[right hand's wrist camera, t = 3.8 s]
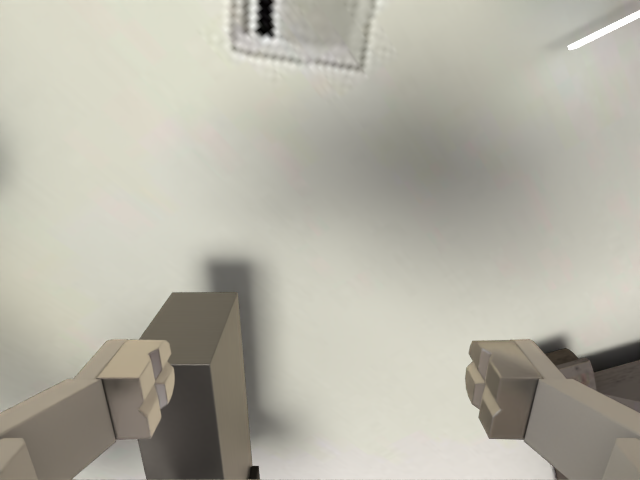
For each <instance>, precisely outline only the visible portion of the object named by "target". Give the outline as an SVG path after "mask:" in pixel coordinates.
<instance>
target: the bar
mask: <svg viewBox="0 0 640 480" xmlns="http://www.w3.org/2000/svg"><path fill="white" fill-rule="evenodd" d="M139 340H166V341H167V342H168V343H169V345H170V349H171V355H170V357H169V359H168V362H169V363H170V364H171V365H172V367H173V368H174V374H175V384H174V389H173V394H172V397H171V399H170V401H169V403H168V404H167V405H166V406H165V407H163V408H162V409H160V411H161V419H160V421H159V423H158V425H157V427H156V429H155V431H154V433H153V436H152V438H151V439H138V443H139V447H140V452H141V456H142V461H143V465H144V470H145V474H146V479H147V480H249V477H250V471H251V466H252V456H251V444H250V432H249V420H248V408H247V396H246V384H245V372H244V361H243V349H242V337H241V325H240V313H239V301H238V292H179V293H172V294H171V295H170V297H169V298H168V299H167V301H166V302H165V304H164V305H163V306H162V308H161V309H160V311H159V312H158V313H157V315H156V316H155V318H154V319H153V321H152V322H151V323H150V325H149V326H148V328H147V329H146V330H145V332H144V333H143V335H142V336H141V337H140V339H139Z"/></svg>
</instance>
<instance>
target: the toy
mask: <svg viewBox="0 0 640 480" xmlns="http://www.w3.org/2000/svg"><path fill="white" fill-rule="evenodd" d="M545 355H546V356H547V357H548V358H549V359H550V361H551V362H552V363H553V364H554V365H555V366H556V367H557V369H558V370H559V371H560V372H561V373H562V374H563V375H564V377H565V378H566V379H574V380H576V381H578V382H580V383H582V384H584V385H585V386H587V387H589V388H591V389H593V390H595V391H597V392H599V393H601V394H603V395H605V396H607V397H609V398H611V399H613V400H615V401H617V402H619V403H621V404H623V405H625V406H627V407H629V408H631V409H633V410H635V411H636V412H638V413H640V360H638V361H634V362H630V363H627V364H623V365H619V366H616V367H612V368H609V369H605V370H601V371H598V372H593V368H592V365H591V362H590V360H588V359H587V358H581V359H578V358H577V357H576V355H575V354H574V353H573V352H571V351H570V350H569V349H566V348H564V349H561V350H557V351H554V352H550V353H547V354H545ZM555 471H556V475H557V480H569V479H568V478H567V477H565V476H564V475H563V474H562V473H561V472H559V471H558V470H557V469H556V468H555Z"/></svg>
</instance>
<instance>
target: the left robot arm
mask: <svg viewBox="0 0 640 480" xmlns="http://www.w3.org/2000/svg"><path fill="white" fill-rule="evenodd" d="M249 480H260V477H259V466H251V471H250V477H249Z"/></svg>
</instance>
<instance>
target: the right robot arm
mask: <svg viewBox="0 0 640 480" xmlns="http://www.w3.org/2000/svg"><path fill="white" fill-rule="evenodd" d="M639 17H640V10H639V11H637V12H635V13H633V14H631V15H629V16H627V17H625V18H623V19H621V20H619V21H617V22H615V23H613V24H611V25H609V26H607V27H605V28H603V29H601V30H599V31H597V32H595V33H593V34H591V35H589V36H587V37H585V38H583V39H581V40H579V41H577V42H575V43H573V44H571V45H569V46H568V49H569V50H570V49H576V48H578V47H580V46H582V45H584V44H586V43H588V42H590V41H592V40H594V39H596V38H598V37H600V36H602V35H604V34H606V33H608V32H610V31H612V30H614V29H616V28H619V27H621V26H623V25H625V24H627V23H629V22H631V21H633V20H635V19H637V18H639ZM170 355H171V349H170V345H169V343H168V342H167V341H166V340H132V339H130V340H128V339H111V340H108V341H106V342H105V343H104V345H103V346H102V347H101V348H100V349H99V350H98V351H97V353H96V354H95V355H94V356H93V357H92V358H91V359H90V361H89V362H88V363H87V364H86V365H85V366H84V367H83V369H82V370H81V371H80V372H79V373H78V374H77V375H76V377H75V378H74V379H66V380H64V381H62V382H60V383H58V384H56V385H55V386H53V387H51V388H49V389H47V390H45V391H43V392H41V393H39V394H37V395H35V396H33V397H31V398H29V399H27V400H25V401H23V402H21V403H19V404H17V405H15V406H13V407H11V408H9V409H7V410H5V411H3V412H1V413H0V480H71V479H72V478H74V477H75V476H76V475H77V474H78V473H79V472H81V471H82V470H83V469H84V468H85V467H87V466H88V465H89V464H90V463H91V462H92V461H94V460H95V459H96V458H97V457H98V456H100V455H101V454H102V453H103V452H104V451H105V450H107V449H108V448H109V447H110V446H111V445H113V444H114V443H115V442H116V440H121V439H151V438H152V436H153V433H154V431H155V429H156V427H157V425H158V423H159V421H160V419H161V411H160V409H162V408H163V407H165V406H166V405H167V404H168V403H169V401H170V399H171V397H172V394H173V389H174V384H175V374H174V368H173V367H172V365H171V364H170V363H169V362H168V359H169V357H170ZM469 355H470V357H471V359H472V362H471V363H470V364H469V365H468V367H467V368H466V375H465V382H466V390H467V393H468V397H469V399H470V401H471V403H472V404H473V405H474V406H475V407H477V408H478V409H480V411H479V419H480V421H481V423H482V425H483V427H484V429H485V431H486V433H487V435H488V437H489V439H519V440H524V442H525V443H527V444H528V445H529V446H530V447H531V448H532V449H534V450H535V451H536V452H537V453H538V454H539V455H541V456H542V457H543V458H544V459H545V460H547V461H548V462H549V463H550V464H551V465H552V466H554V467H555V468H556V469H557V470H558V471H559V472H561V473H562V474H563V475H564V476H565V477H567V478H568V479H569V480H640V413H638V412H636V411H635V410H633V409H631V408H629V407H627V406H625V405H623V404H621V403H619V402H617V401H615V400H613V399H611V398H609V397H607V396H605V395H603V394H601V393H599V392H597V391H595V390H593V389H591V388H589V387H587V386H585V385H584V384H582V383H580V382H578V381H576V380H574V379H566V378H565V377H564V375H563V374H562V373H561V372H560V371H559V370H558V369H557V367H556V366H555V365H554V364H553V363H552V362H551V361H550V359H549V358H548V357H547V356H546V355H545V354H544V353H543V351H542V350H541V349H540V348H539V347H538V346H537V345H536V343H535V342H534V341H532V340H530V339H518V340H487V341H472V343H471V345H470V349H469Z"/></svg>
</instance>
